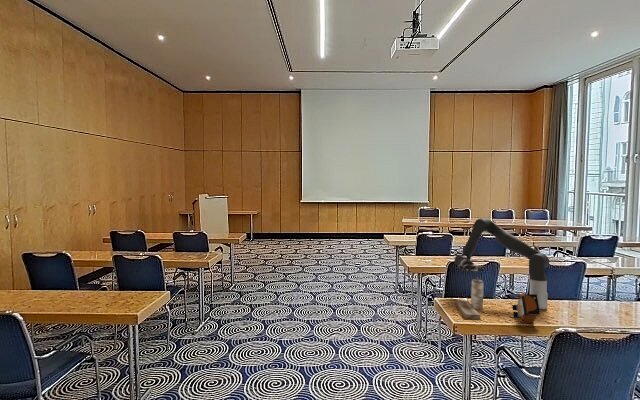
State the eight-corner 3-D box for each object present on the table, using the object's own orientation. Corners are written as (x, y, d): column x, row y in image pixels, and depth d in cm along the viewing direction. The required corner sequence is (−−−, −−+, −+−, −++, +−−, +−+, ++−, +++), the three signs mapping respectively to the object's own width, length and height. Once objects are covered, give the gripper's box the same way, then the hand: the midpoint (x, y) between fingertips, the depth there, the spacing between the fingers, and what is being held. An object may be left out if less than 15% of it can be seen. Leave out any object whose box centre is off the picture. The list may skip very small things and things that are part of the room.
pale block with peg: (480, 306, 264) (481, 277, 263) (482, 309, 258) (483, 279, 257) (471, 306, 264) (471, 276, 264) (473, 308, 258) (474, 278, 258)
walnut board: (468, 305, 266) (468, 301, 266) (480, 319, 237) (480, 314, 237) (454, 304, 267) (455, 300, 267) (465, 318, 238) (465, 314, 238)
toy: (510, 297, 247) (525, 289, 229) (520, 297, 247) (535, 289, 229) (515, 325, 241) (530, 320, 223) (525, 326, 240) (541, 320, 222)
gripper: (456, 259, 290) (461, 263, 274) (478, 260, 288) (484, 264, 272) (456, 270, 290) (461, 275, 274) (478, 271, 288) (484, 276, 272)
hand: (472, 269), depth 273 cm, fingers open, 8 cm apart
